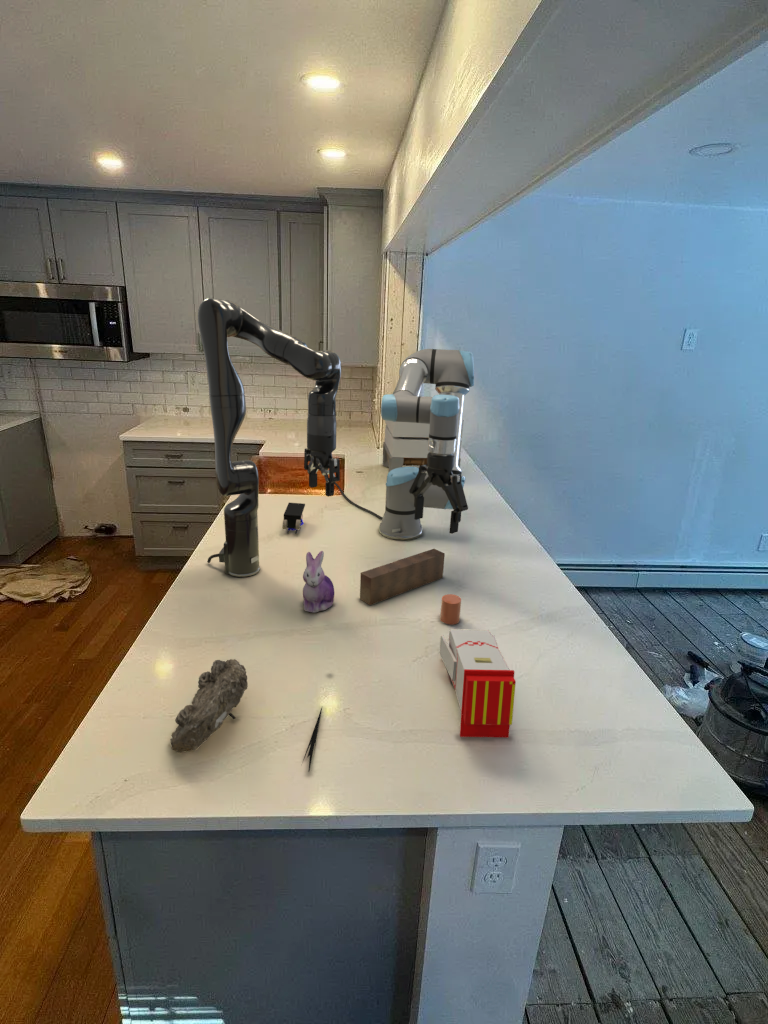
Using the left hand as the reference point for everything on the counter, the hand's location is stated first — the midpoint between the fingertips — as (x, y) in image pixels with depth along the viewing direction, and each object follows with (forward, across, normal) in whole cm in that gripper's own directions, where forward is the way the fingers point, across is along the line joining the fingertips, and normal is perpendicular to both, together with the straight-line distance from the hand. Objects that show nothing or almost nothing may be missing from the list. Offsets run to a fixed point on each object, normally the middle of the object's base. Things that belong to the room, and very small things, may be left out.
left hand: (321, 491), depth 151 cm
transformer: (+28, -76, +100) cm, 129 cm away
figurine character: (+28, -42, +14) cm, 53 cm away
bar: (+28, +14, +19) cm, 37 cm away
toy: (+28, +58, +2) cm, 64 cm away
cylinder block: (+28, +34, +18) cm, 48 cm away
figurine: (+28, +9, -6) cm, 30 cm away
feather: (+28, +48, -29) cm, 62 cm away
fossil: (+28, +36, -45) cm, 64 cm away
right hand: (+11, +13, +30) cm, 35 cm away
